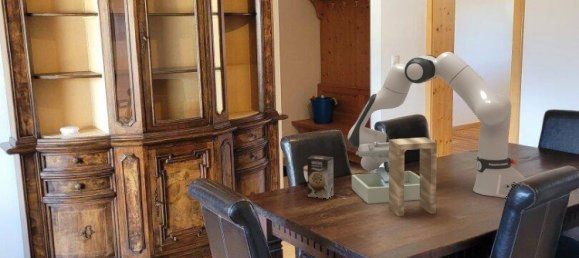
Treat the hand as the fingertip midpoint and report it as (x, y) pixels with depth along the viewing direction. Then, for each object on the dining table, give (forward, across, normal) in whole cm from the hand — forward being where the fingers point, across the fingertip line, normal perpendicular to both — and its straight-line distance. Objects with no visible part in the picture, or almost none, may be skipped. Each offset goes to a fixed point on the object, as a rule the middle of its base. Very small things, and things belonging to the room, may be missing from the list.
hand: (387, 142), depth 223 cm
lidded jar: (-27, -26, +8) cm, 38 cm away
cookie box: (-11, -28, +18) cm, 35 cm away
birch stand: (+12, 0, +31) cm, 33 cm away
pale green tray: (-7, 0, +19) cm, 21 cm away
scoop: (-9, 0, +14) cm, 17 cm away
